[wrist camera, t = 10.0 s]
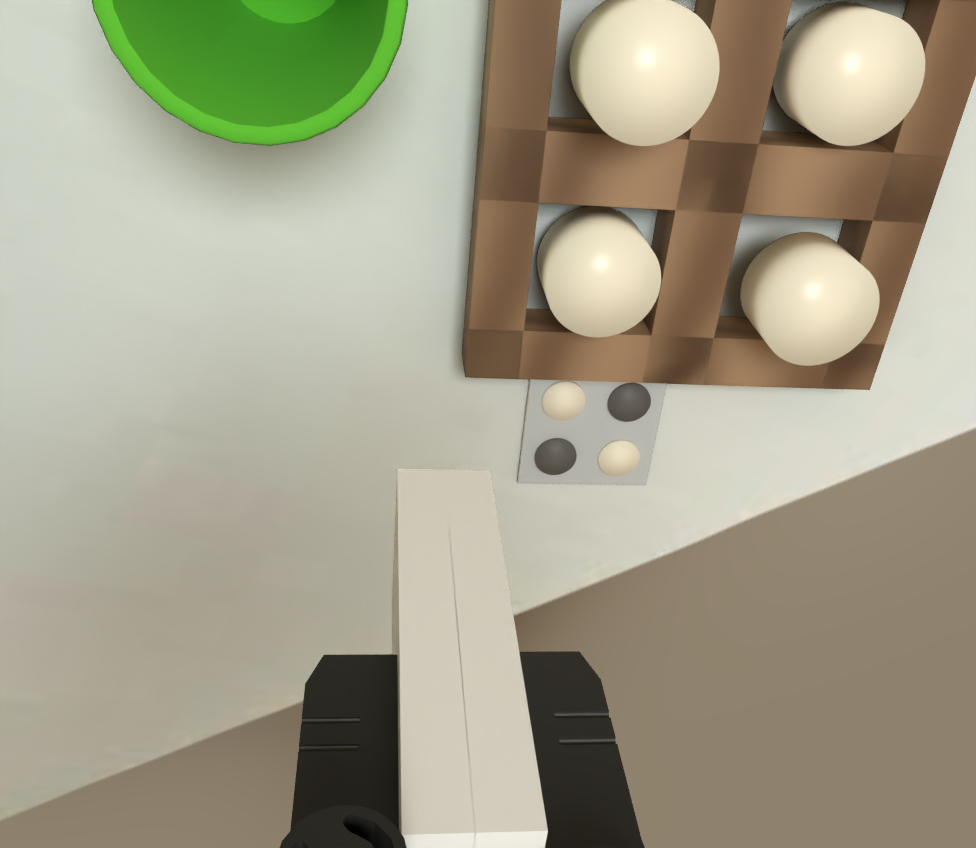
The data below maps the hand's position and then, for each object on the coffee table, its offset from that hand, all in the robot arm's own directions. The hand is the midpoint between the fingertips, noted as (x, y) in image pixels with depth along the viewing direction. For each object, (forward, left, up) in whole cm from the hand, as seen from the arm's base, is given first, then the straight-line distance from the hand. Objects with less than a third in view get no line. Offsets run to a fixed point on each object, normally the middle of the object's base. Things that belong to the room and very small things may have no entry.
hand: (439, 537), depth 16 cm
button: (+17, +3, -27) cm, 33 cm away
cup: (-5, +6, -29) cm, 30 cm away
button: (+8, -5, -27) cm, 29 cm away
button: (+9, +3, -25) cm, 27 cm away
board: (+13, -1, -28) cm, 31 cm away
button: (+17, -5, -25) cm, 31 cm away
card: (+10, -15, -28) cm, 34 cm away
